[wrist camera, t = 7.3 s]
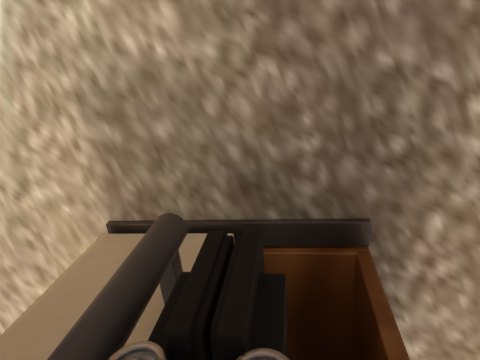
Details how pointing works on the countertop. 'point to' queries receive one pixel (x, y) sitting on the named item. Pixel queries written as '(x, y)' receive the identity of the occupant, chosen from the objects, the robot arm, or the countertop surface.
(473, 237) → the countertop surface
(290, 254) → the cabinet
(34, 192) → the countertop surface
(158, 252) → the sliding door
